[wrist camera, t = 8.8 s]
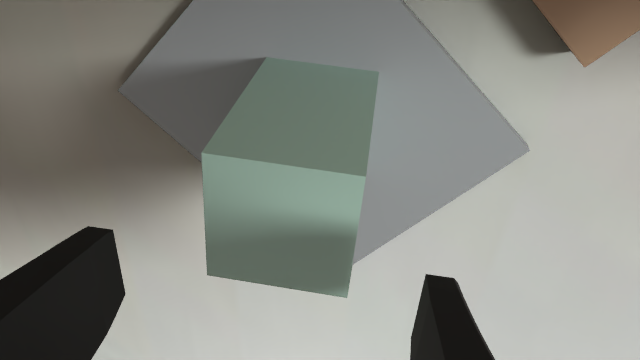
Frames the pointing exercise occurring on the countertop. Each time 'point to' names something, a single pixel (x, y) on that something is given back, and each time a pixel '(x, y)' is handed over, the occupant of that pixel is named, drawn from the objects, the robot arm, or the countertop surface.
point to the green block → (290, 177)
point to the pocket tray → (591, 24)
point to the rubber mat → (343, 51)
